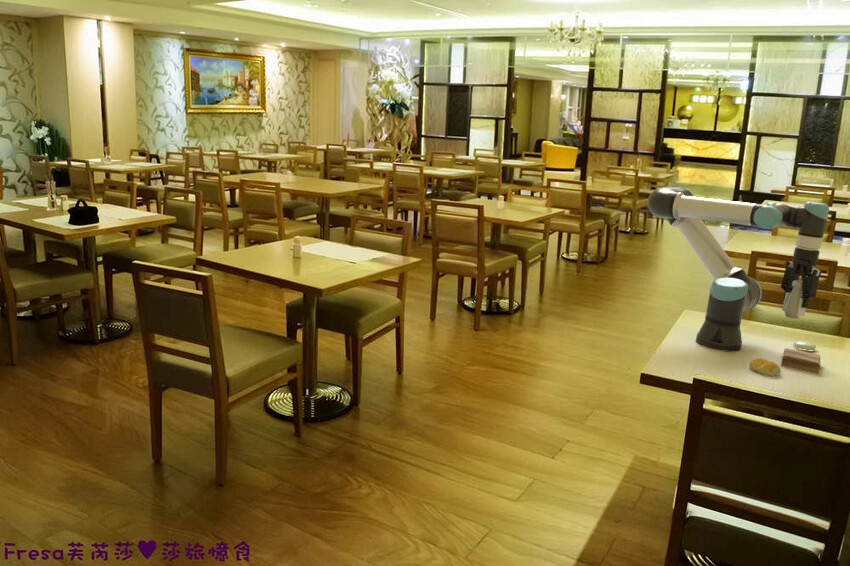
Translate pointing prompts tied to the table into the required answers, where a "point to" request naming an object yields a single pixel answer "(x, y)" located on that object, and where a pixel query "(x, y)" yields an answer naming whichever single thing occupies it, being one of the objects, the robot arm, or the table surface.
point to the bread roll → (765, 367)
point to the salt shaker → (794, 300)
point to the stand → (801, 360)
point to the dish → (804, 345)
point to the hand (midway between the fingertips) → (792, 313)
